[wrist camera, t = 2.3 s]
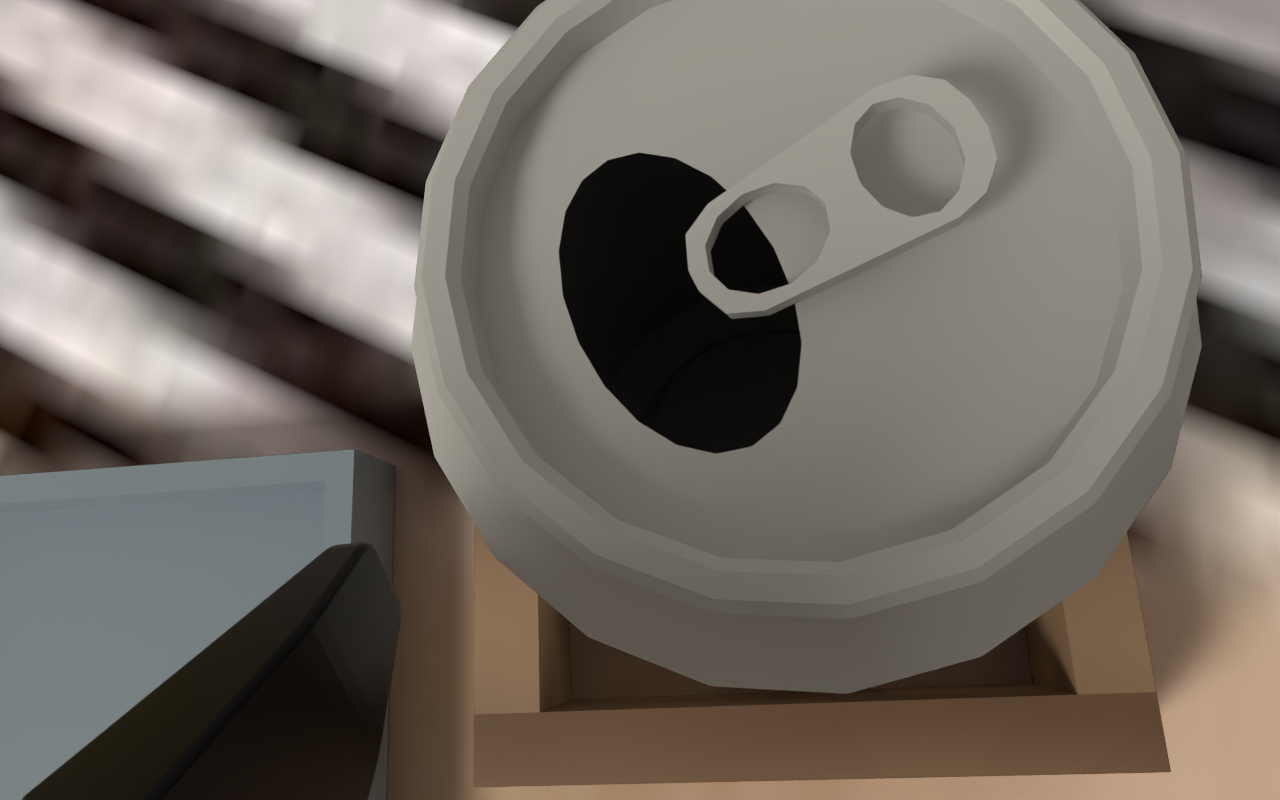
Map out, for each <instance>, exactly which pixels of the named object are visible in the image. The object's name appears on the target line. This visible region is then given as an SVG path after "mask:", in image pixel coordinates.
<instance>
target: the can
mask: <svg viewBox="0 0 1280 800" xmlns="http://www.w3.org/2000/svg"><path fill="white" fill-rule="evenodd" d="M1201 277H1202V273H1201V264H1200V256H1199V247H1198V239H1197V230H1196V222H1195V214H1194V205H1193V197H1192V188H1191V180H1190V171H1189V163H1188V156H1187V154H1186V152H1185V150H1184V149H1183V147H1182V145H1181V143H1180V141H1179V139H1178V137H1177V135H1176V133H1175V131H1174V129H1173V127H1172V125H1171V123H1170V121H1169V119H1168V117H1167V115H1166V113H1165V112H1164V110H1163V108H1162V106H1161V104H1160V102H1159V100H1158V98H1157V96H1156V94H1155V92H1154V90H1153V88H1152V86H1151V84H1150V82H1149V80H1148V78H1147V77H1146V75H1145V73H1144V71H1143V69H1142V67H1141V65H1140V63H1139V61H1138V59H1137V57H1136V55H1135V53H1134V52H1133V51H1132V50H1131V49H1129V48H1128V47H1127V46H1126V45H1125V44H1124V43H1123V42H1122V41H1121V40H1120V39H1119V38H1118V37H1117V36H1116V35H1115V34H1114V33H1113V32H1112V31H1111V30H1110V29H1109V28H1108V27H1107V26H1106V25H1104V24H1103V23H1102V22H1101V21H1100V20H1099V19H1098V18H1097V17H1096V16H1095V15H1094V14H1093V13H1092V12H1091V11H1090V10H1089V9H1088V8H1087V7H1086V6H1085V5H1084V4H1083V3H1082V2H1081V1H1079V0H546V1H544V2H543V3H541V4H540V5H538V6H537V7H536V8H535V9H534V10H533V12H532V13H531V14H530V15H529V16H528V17H527V19H526V20H525V21H524V22H523V23H522V24H521V26H520V27H519V28H518V29H517V30H516V31H515V33H514V34H513V35H512V36H511V37H510V38H509V40H508V41H507V42H506V43H505V44H504V45H503V47H502V48H501V49H500V50H499V51H498V53H497V54H496V55H495V56H494V57H493V58H492V60H491V61H490V62H489V63H488V64H487V65H486V67H485V68H484V69H483V70H482V71H481V72H480V74H479V75H478V76H477V77H476V78H475V79H474V81H473V82H472V83H471V84H470V85H469V86H468V89H467V91H466V93H465V95H464V98H463V100H462V102H461V104H460V107H459V109H458V111H457V113H456V116H455V118H454V120H453V122H452V125H451V127H450V129H449V131H448V133H447V136H446V138H445V140H444V142H443V145H442V147H441V149H440V151H439V154H438V156H437V158H436V160H435V163H434V165H433V167H432V169H431V172H430V174H429V176H428V178H427V181H426V186H425V195H424V204H423V213H422V222H421V231H420V240H419V249H418V258H417V267H416V276H415V285H414V287H415V291H416V296H417V301H416V310H415V319H414V328H413V337H412V346H411V349H412V353H413V358H414V363H415V367H416V372H417V377H418V382H419V386H420V391H421V396H422V401H423V405H424V410H425V415H426V419H427V424H428V429H429V434H430V438H431V443H432V448H433V453H434V457H435V458H436V460H437V462H438V463H439V465H440V467H441V468H442V470H443V472H444V473H445V475H446V477H447V479H448V480H449V482H450V484H451V485H452V487H453V489H454V490H455V492H456V494H457V495H458V497H459V499H460V500H461V502H462V504H463V505H464V507H465V509H466V511H467V512H468V514H469V516H470V517H471V519H472V521H473V522H474V524H475V526H476V527H477V529H478V531H479V532H480V534H481V536H482V537H483V539H484V541H485V543H486V544H487V546H488V548H489V549H490V551H491V553H492V554H493V556H494V557H495V558H496V559H497V560H498V561H500V562H501V563H502V564H503V565H504V566H505V567H507V568H508V569H509V570H510V571H511V572H512V573H514V574H515V575H516V576H517V577H518V578H519V579H521V580H522V581H523V582H524V583H525V584H526V585H528V586H529V587H530V588H531V589H532V590H534V591H535V592H536V593H537V594H538V595H539V596H541V597H542V598H543V599H544V600H545V601H546V602H548V603H549V604H550V605H551V606H552V607H553V608H555V609H556V610H557V611H558V612H559V613H560V614H562V615H563V616H564V617H565V618H566V619H567V620H569V621H570V622H571V623H572V624H573V625H574V626H576V627H577V628H578V629H579V630H580V631H582V632H583V633H584V634H585V635H586V636H587V637H589V638H591V639H594V640H596V641H599V642H601V643H604V644H606V645H609V646H611V647H614V648H616V649H619V650H621V651H624V652H626V653H629V654H631V655H634V656H636V657H639V658H641V659H644V660H646V661H649V662H651V663H654V664H656V665H659V666H661V667H664V668H666V669H669V670H671V671H674V672H676V673H679V674H681V675H684V676H686V677H689V678H691V679H694V680H696V681H699V682H701V683H704V684H706V685H709V686H716V687H734V688H751V689H769V690H786V691H804V692H822V693H839V694H849V693H852V692H856V691H860V690H863V689H867V688H870V687H874V686H878V685H881V684H885V683H888V682H892V681H896V680H899V679H903V678H907V677H910V676H914V675H917V674H921V673H925V672H928V671H932V670H935V669H939V668H943V667H946V666H950V665H953V664H957V663H961V662H964V661H968V660H971V659H975V658H979V657H982V656H983V655H985V654H986V653H987V652H989V651H990V650H992V649H993V648H995V647H996V646H997V645H999V644H1000V643H1002V642H1003V641H1005V640H1006V639H1008V638H1009V637H1010V636H1012V635H1013V634H1015V633H1016V632H1018V631H1019V630H1020V629H1022V628H1023V627H1025V626H1026V625H1028V624H1029V623H1031V622H1032V621H1033V620H1035V619H1036V618H1038V617H1039V616H1041V615H1042V614H1043V613H1045V612H1046V611H1048V610H1049V609H1051V608H1052V607H1054V606H1055V605H1056V604H1058V603H1059V602H1061V601H1062V600H1064V599H1065V598H1066V597H1068V596H1069V595H1071V594H1072V593H1074V592H1075V591H1076V590H1078V589H1079V588H1081V587H1082V586H1084V585H1085V584H1087V583H1088V582H1089V581H1091V580H1092V579H1094V578H1095V576H1096V575H1097V573H1098V572H1099V571H1100V569H1101V568H1102V566H1103V565H1104V563H1105V562H1106V561H1107V559H1108V558H1109V556H1110V555H1111V553H1112V552H1113V551H1114V549H1115V548H1116V546H1117V545H1118V543H1119V542H1120V541H1121V539H1122V538H1123V536H1124V535H1125V533H1126V532H1127V531H1128V529H1129V528H1130V526H1131V525H1132V523H1133V522H1134V521H1135V519H1136V518H1137V516H1138V515H1139V514H1140V512H1141V511H1142V509H1143V508H1144V506H1145V505H1146V504H1147V502H1148V501H1149V499H1150V498H1151V496H1152V495H1153V494H1154V492H1155V491H1156V489H1157V488H1158V486H1159V485H1160V484H1161V482H1162V481H1163V479H1164V478H1165V476H1166V475H1167V474H1168V472H1169V471H1170V469H1171V465H1172V461H1173V457H1174V453H1175V449H1176V445H1177V441H1178V437H1179V434H1180V430H1181V426H1182V422H1183V418H1184V414H1185V410H1186V406H1187V402H1188V398H1189V394H1190V390H1191V386H1192V382H1193V378H1194V374H1195V370H1196V367H1197V363H1198V359H1199V355H1200V351H1201V347H1202V344H1201V336H1200V327H1199V318H1198V310H1197V301H1196V296H1197V292H1198V289H1199V285H1200V281H1201Z"/></svg>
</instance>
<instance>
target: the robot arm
mask: <svg viewBox="0 0 1280 800" xmlns="http://www.w3.org/2000/svg"><path fill="white" fill-rule="evenodd" d="M399 625H400V606H399V602H398V598H397V595H396V593H395V591H394V588H393V586H392V584H391V582H390V579H389V577H388V575H387V572H386V570H385V568H384V565H383V563H382V561H381V558H380V556H379V554H378V552H377V550H376V549H375V547H374V546H373V545H372V544H370V543H368V542H356V543H348V544H340V545H334V546H331V547H329V548H328V549H326V550H325V551H324V552H322V553H321V554H320V555H319V556H318V557H316V558H315V559H314V560H313V561H311V562H310V563H309V564H308V565H307V566H305V567H304V568H303V569H302V570H300V571H299V572H298V573H297V574H295V575H294V576H293V577H292V578H291V579H289V580H288V581H287V582H286V583H284V584H283V585H282V586H281V587H280V588H278V589H277V590H276V591H275V592H273V593H272V594H271V595H270V596H269V597H267V598H266V599H265V600H264V601H262V602H261V603H260V604H259V605H257V606H256V607H255V608H254V609H253V610H251V611H250V612H249V613H248V614H246V615H245V616H244V617H243V618H242V619H240V620H239V621H238V622H237V623H235V624H234V625H233V626H232V627H231V628H229V629H228V630H227V631H226V632H224V633H223V634H222V635H221V636H219V637H218V638H217V639H216V640H215V641H213V642H212V643H211V644H210V645H208V646H207V647H206V648H205V649H204V650H202V651H201V652H200V653H199V654H197V655H196V656H195V657H194V658H193V659H191V660H190V661H189V662H188V663H186V664H185V665H184V666H183V667H181V668H180V669H179V670H178V671H177V672H175V673H174V674H173V675H172V676H170V677H169V678H168V679H167V680H166V681H164V682H163V683H162V684H161V685H159V686H158V687H157V688H156V689H155V690H153V691H152V692H151V693H150V694H148V695H147V696H146V697H145V698H143V699H142V700H141V701H140V702H139V703H137V704H136V705H135V706H134V707H132V708H131V709H130V710H129V711H128V712H126V713H125V714H124V715H123V716H121V717H120V718H119V719H118V720H117V721H115V722H114V723H113V724H112V725H110V726H109V727H108V728H107V729H105V730H104V731H103V732H102V733H101V734H99V735H98V736H97V737H96V738H94V739H93V740H92V741H91V742H90V743H88V744H87V745H86V746H85V747H83V748H82V749H81V750H80V751H79V752H77V753H76V754H75V755H74V756H72V757H71V758H70V759H69V760H67V761H66V762H65V763H64V764H63V765H61V766H60V767H59V768H58V769H56V770H55V771H54V772H53V773H52V774H50V775H49V776H48V777H47V778H45V779H44V780H43V781H42V782H41V783H39V784H38V785H37V786H36V787H34V788H33V789H32V790H31V791H29V792H28V793H27V794H26V795H25V796H24V797H23V798H22V800H368V799H369V795H370V791H371V788H372V784H373V780H374V776H375V772H376V767H377V763H378V759H379V754H380V749H381V743H382V738H383V732H384V725H385V719H386V712H387V705H388V699H389V692H390V685H391V679H392V672H393V665H394V659H395V652H396V645H397V638H398V632H399Z"/></svg>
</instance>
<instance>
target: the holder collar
mask: <svg viewBox="0 0 1280 800" xmlns="http://www.w3.org/2000/svg"><path fill="white" fill-rule="evenodd" d="M1025 632H1026V639H1027V645H1028V652H1029V659H1030V665H1031V672H1032V679H1033V684H1010V685H981V686H953V687H924V688H895V689H866V690H860V691H856V692H852V693H849V694H839V693H822V692H779V693H751V694H722V695H693V696H664V697H635V698H606V699H577V700H571V683H570V640H569V620H567V619H566V618H565V617H564V616H563V615H562V614H560V613H559V612H558V611H557V610H556V609H555V608H553V607H552V606H551V605H550V604H549V603H548V602H546V601H545V600H544V599H543V598H542V597H541V596H539V595H538V594H537V593H536V592H535V591H534V590H532V589H531V588H530V587H529V586H528V585H526V584H525V583H524V582H523V581H522V580H521V579H519V578H518V577H517V576H516V575H515V574H514V573H512V572H511V571H510V570H509V569H508V568H507V567H505V566H504V565H503V564H502V563H501V562H500V561H498V560H497V559H496V558H495V557H494V556H493V554H492V553H491V551H490V549H489V548H488V546H487V544H486V543H485V541H484V539H483V537H482V536H481V534H480V532H479V531H478V529H477V527H476V526H475V550H474V787H506V786H552V785H599V784H645V783H691V782H737V781H783V780H829V779H875V778H921V777H967V776H1014V775H1060V774H1106V773H1152V772H1171V770H1170V764H1169V759H1168V753H1167V748H1166V742H1165V737H1164V732H1163V726H1162V721H1161V715H1160V710H1159V704H1158V699H1157V693H1156V688H1155V682H1154V677H1153V672H1152V666H1151V661H1150V655H1149V650H1148V644H1147V639H1146V633H1145V628H1144V623H1143V617H1142V612H1141V606H1140V601H1139V595H1138V590H1137V584H1136V579H1135V573H1134V568H1133V563H1132V557H1131V552H1130V546H1129V541H1128V535H1127V532H1126V533H1125V535H1124V536H1123V538H1122V539H1121V541H1120V542H1119V543H1118V545H1117V546H1116V548H1115V549H1114V551H1113V552H1112V553H1111V555H1110V556H1109V558H1108V559H1107V561H1106V562H1105V563H1104V565H1103V566H1102V568H1101V569H1100V571H1099V572H1098V573H1097V575H1096V576H1095V578H1094V579H1092V580H1091V581H1089V582H1088V583H1087V584H1085V585H1084V586H1082V587H1081V588H1079V589H1078V590H1076V591H1075V592H1074V593H1072V594H1071V595H1069V596H1068V597H1066V598H1065V599H1064V600H1062V601H1061V602H1059V603H1058V604H1056V605H1055V606H1054V607H1052V608H1051V609H1049V610H1048V611H1046V612H1045V613H1043V614H1042V615H1041V616H1039V617H1038V618H1036V619H1035V620H1033V621H1032V622H1031V623H1029V624H1028V625H1026V626H1025Z"/></svg>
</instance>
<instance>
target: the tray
mask: <svg viewBox="0 0 1280 800" xmlns="http://www.w3.org/2000/svg"><path fill="white" fill-rule="evenodd" d="M394 496H395V466H394V465H391V464H389V463H387V462H384V461H382V460H379V459H377V458H374V457H372V456H369V455H367V454H365V453H362V452H360V451H357V450H355V449H352V450H339V451H325V452H312V453H299V454H285V455H272V456H259V457H245V458H232V459H219V460H206V461H192V462H179V463H166V464H152V465H139V466H126V467H112V468H99V469H86V470H72V471H59V472H46V473H33V474H19V475H6V476H0V800H22V798H23V797H24V796H25V795H26V794H27V793H28V792H29V791H31V790H32V789H33V788H34V787H36V786H37V785H38V784H39V783H41V782H42V781H43V780H44V779H45V778H47V777H48V776H49V775H50V774H52V773H53V772H54V771H55V770H56V769H58V768H59V767H60V766H61V765H63V764H64V763H65V762H66V761H67V760H69V759H70V758H71V757H72V756H74V755H75V754H76V753H77V752H79V751H80V750H81V749H82V748H83V747H85V746H86V745H87V744H88V743H90V742H91V741H92V740H93V739H94V738H96V737H97V736H98V735H99V734H101V733H102V732H103V731H104V730H105V729H107V728H108V727H109V726H110V725H112V724H113V723H114V722H115V721H117V720H118V719H119V718H120V717H121V716H123V715H124V714H125V713H126V712H128V711H129V710H130V709H131V708H132V707H134V706H135V705H136V704H137V703H139V702H140V701H141V700H142V699H143V698H145V697H146V696H147V695H148V694H150V693H151V692H152V691H153V690H155V689H156V688H157V687H158V686H159V685H161V684H162V683H163V682H164V681H166V680H167V679H168V678H169V677H170V676H172V675H173V674H174V673H175V672H177V671H178V670H179V669H180V668H181V667H183V666H184V665H185V664H186V663H188V662H189V661H190V660H191V659H193V658H194V657H195V656H196V655H197V654H199V653H200V652H201V651H202V650H204V649H205V648H206V647H207V646H208V645H210V644H211V643H212V642H213V641H215V640H216V639H217V638H218V637H219V636H221V635H222V634H223V633H224V632H226V631H227V630H228V629H229V628H231V627H232V626H233V625H234V624H235V623H237V622H238V621H239V620H240V619H242V618H243V617H244V616H245V615H246V614H248V613H249V612H250V611H251V610H253V609H254V608H255V607H256V606H257V605H259V604H260V603H261V602H262V601H264V600H265V599H266V598H267V597H269V596H270V595H271V594H272V593H273V592H275V591H276V590H277V589H278V588H280V587H281V586H282V585H283V584H284V583H286V582H287V581H288V580H289V579H291V578H292V577H293V576H294V575H295V574H297V573H298V572H299V571H300V570H302V569H303V568H304V567H305V566H307V565H308V564H309V563H310V562H311V561H313V560H314V559H315V558H316V557H318V556H319V555H320V554H321V553H322V552H324V551H325V550H326V549H328V548H329V547H331V546H334V545H340V544H348V543H356V542H368V543H370V544H372V545H373V546H374V547H375V549H376V550H377V552H378V554H379V556H380V558H381V561H382V563H383V565H384V568H385V570H386V572H387V575H388V577H389V579H390V582H391V584H392V570H393V533H394ZM388 718H389V699H388V705H387V712H386V719H385V725H384V732H383V738H382V743H381V749H380V754H379V759H378V763H377V767H376V772H375V776H374V780H373V784H372V788H371V791H370V795H369V799H368V800H386V792H387V755H388Z"/></svg>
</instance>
